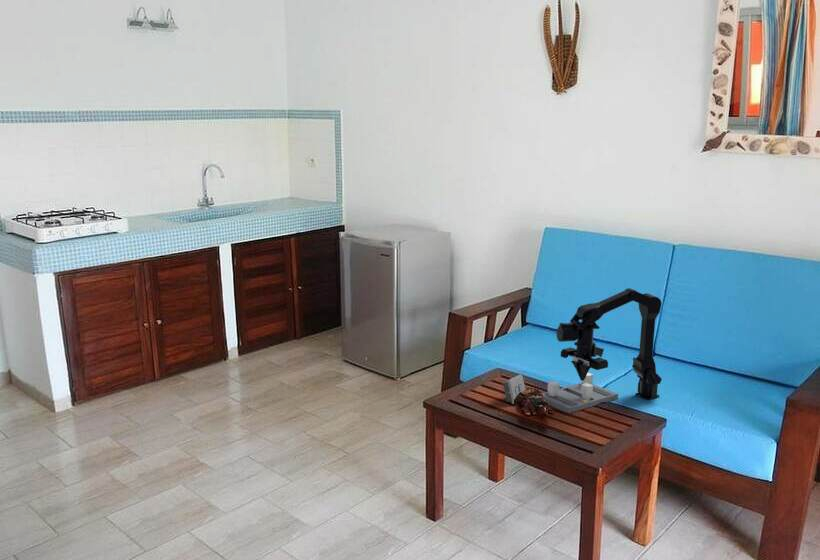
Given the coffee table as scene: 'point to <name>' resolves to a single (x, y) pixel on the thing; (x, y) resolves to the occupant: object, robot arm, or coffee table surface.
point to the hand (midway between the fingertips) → (582, 380)
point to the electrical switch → (513, 387)
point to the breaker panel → (576, 396)
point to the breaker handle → (586, 391)
